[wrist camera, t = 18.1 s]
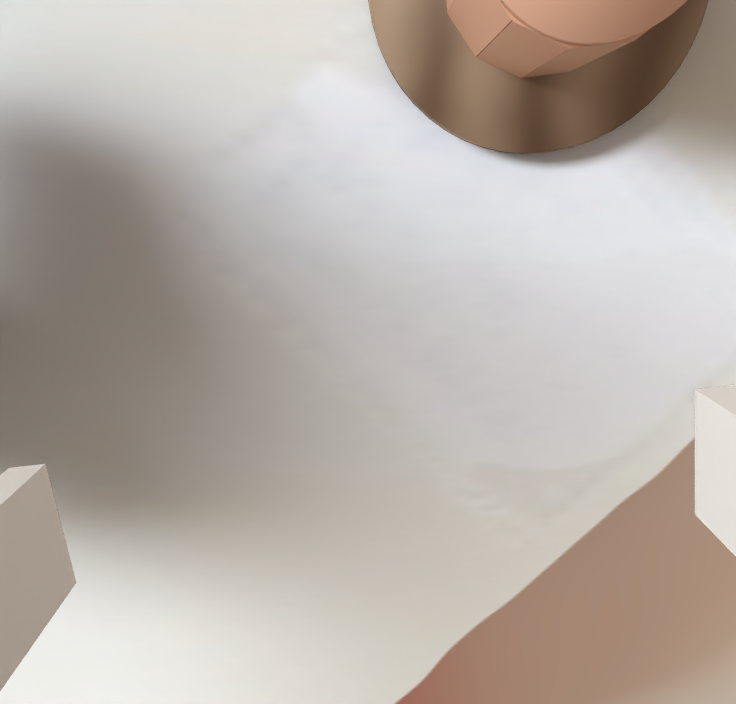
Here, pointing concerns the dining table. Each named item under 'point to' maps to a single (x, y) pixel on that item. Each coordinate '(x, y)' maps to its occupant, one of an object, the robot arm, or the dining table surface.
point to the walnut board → (524, 79)
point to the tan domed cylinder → (552, 30)
